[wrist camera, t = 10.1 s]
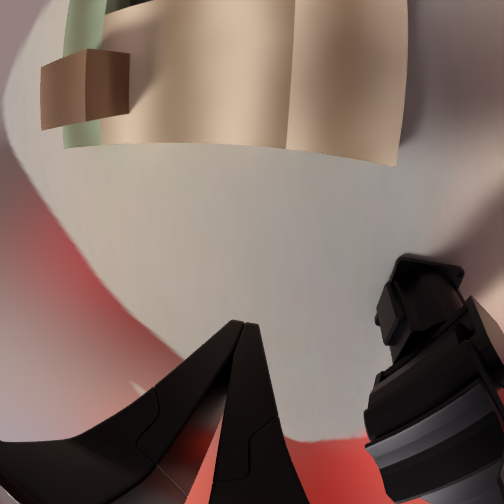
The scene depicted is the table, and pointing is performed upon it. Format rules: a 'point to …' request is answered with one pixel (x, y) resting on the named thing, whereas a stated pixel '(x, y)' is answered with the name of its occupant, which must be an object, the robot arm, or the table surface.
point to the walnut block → (84, 87)
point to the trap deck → (252, 73)
